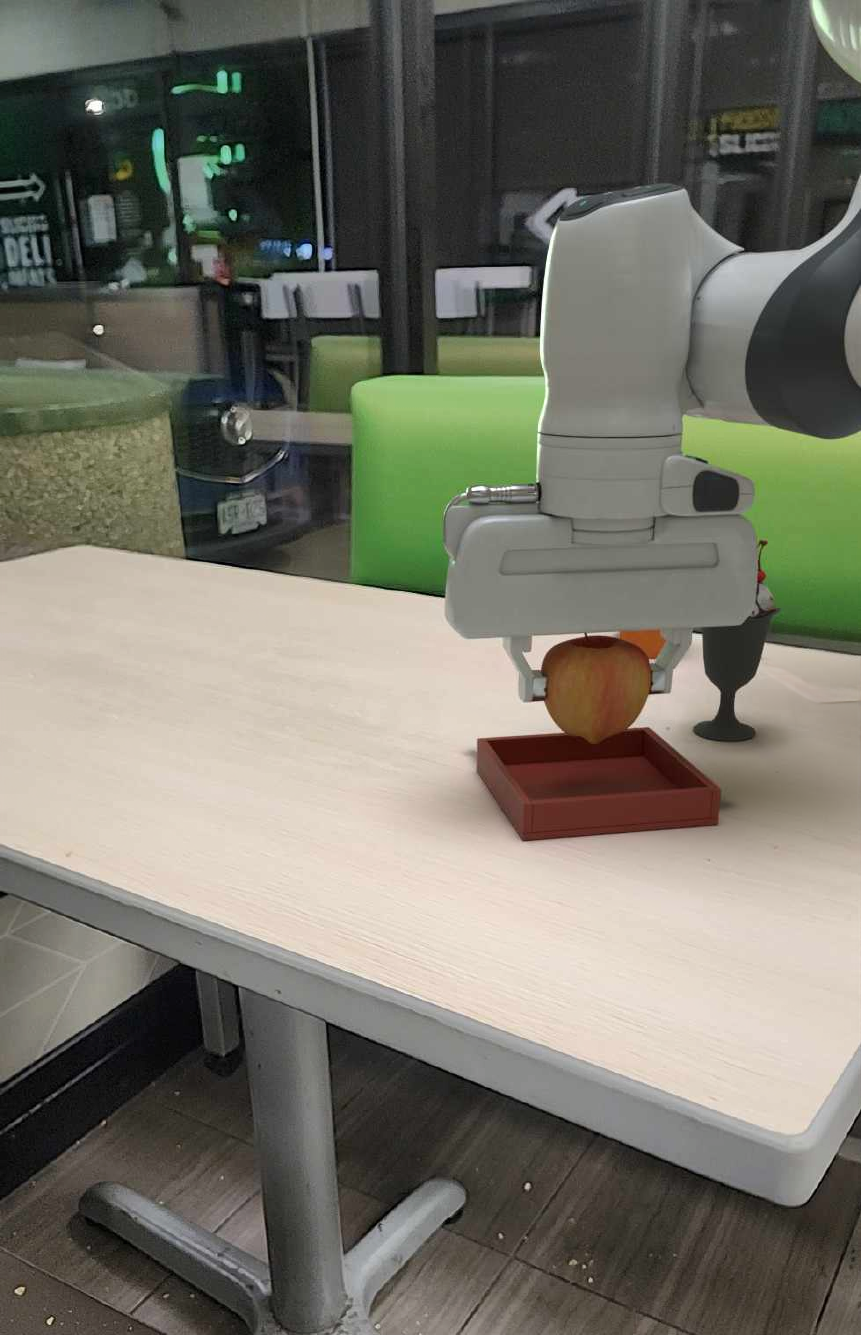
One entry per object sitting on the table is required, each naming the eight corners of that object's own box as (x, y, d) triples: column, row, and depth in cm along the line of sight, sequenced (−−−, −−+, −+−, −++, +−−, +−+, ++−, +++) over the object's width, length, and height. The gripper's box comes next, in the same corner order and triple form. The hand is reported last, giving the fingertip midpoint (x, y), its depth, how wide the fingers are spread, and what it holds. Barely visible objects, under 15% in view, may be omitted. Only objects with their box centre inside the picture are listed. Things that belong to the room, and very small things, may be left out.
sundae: (776, 726, 95) (799, 538, 89) (752, 750, 90) (774, 552, 84) (698, 714, 98) (714, 532, 92) (670, 736, 93) (686, 544, 87)
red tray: (646, 758, 88) (649, 726, 87) (718, 824, 76) (721, 789, 75) (476, 770, 86) (476, 738, 85) (522, 840, 74) (523, 804, 73)
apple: (597, 764, 75) (604, 641, 71) (515, 737, 80) (518, 621, 76) (668, 739, 79) (678, 622, 76) (587, 715, 84) (592, 605, 81)
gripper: (453, 492, 68) (453, 719, 74) (780, 483, 71) (755, 700, 77) (433, 480, 74) (434, 691, 79) (736, 472, 77) (717, 675, 83)
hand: (595, 696), depth 78 cm, fingers closed on apple, 7 cm apart
